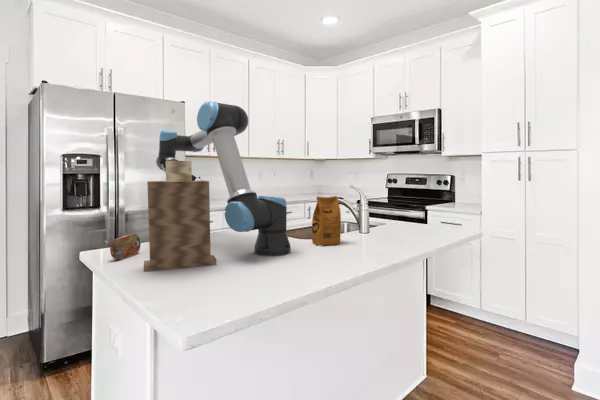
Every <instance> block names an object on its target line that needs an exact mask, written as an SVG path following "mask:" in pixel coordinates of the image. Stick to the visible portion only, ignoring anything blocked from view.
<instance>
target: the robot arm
mask: <svg viewBox="0 0 600 400" xmlns="http://www.w3.org/2000/svg"><path fill="white" fill-rule="evenodd" d="M196 121H197V122H196V123H197V126H198V129H199V131H197V132H195V133H193V134H192V135H180V134H178V132H177V131H175V130H168V129H162V130H161V131H160V133H159V144H158V145H159V151H158V156H157V157H156V160H155V164H156V166H157V167H158V168H159V170H161V171H164V172H165V173H164V174H165V175H166V161H179V160H178V159H176V153H177V152H192V153H196V152H197V153H199V152H202V151H203V149H204V148H205V147H207V146H210V145H211V144H213V146H214V150H215V152H216V156H217V160H218V162H219V166H220V168H221V171H222V176H223V178H224V182H225V186H226V189H227V192H228V195H229V197H228V199H227V201H226V203H227V205H226V206H225V208H224V211H225V212H224V214H223V215H224V219H225V222H226V224H227V226H229V229H231V230H233V231H235V232H236V233H237V232H238V233H248V232H251V231H256V230H258V231H257V236H256V239H255V243H254V246H253V248H254V250H253V251H254V252H253V253H254V254H256V255H259V256H271V257H272V256H282V255H287V254H290V253H291V251H292V250H291V249H292V247H291V242H290V240H289V237H288V234H287V219H288V218H287V217H288V216H287V211H288V209H287V208H288V207H287V200H286V199H285V198H284V197H279V196H268V195H259V196H258V195H257V192H255V191H254V190H252V189H251V186H250V182H249V179H248V177H247V173H246V170H245V166H244V163H243V160H242V157H241V154H240V150H239V148H238V145H237V144H238V143H237V141H236V136H237V135H240V134H242V133H244V132H245V131H246V129H247V128H248V126H249V117H248V114H247V112H246V111H245V110H244V109H243V108H242V107H240V106H238V105H235V104H228V103H221V102H217V101H205V102H203V103H202V104H201V105H200V107H199V109H198V113H197V116H196ZM192 181H204V180H203V179H201V176H199V177H198V176H196V175H194V174H192Z"/></svg>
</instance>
